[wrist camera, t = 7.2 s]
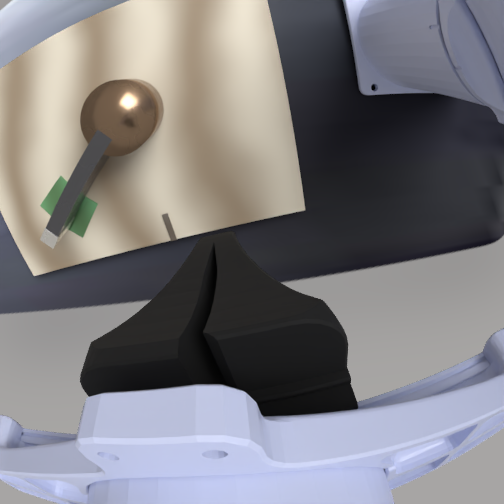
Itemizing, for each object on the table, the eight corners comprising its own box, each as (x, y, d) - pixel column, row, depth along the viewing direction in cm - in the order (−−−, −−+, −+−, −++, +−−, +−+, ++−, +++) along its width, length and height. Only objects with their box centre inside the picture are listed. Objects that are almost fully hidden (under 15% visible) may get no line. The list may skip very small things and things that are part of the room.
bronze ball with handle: (125, 66, 14) (108, 65, 12) (177, 103, 16) (170, 108, 13) (42, 208, 18) (23, 227, 16) (85, 238, 20) (71, 261, 17)
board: (257, -24, 13) (259, -31, 12) (301, 203, 22) (305, 210, 21) (-28, 96, 14) (-38, 99, 12) (39, 267, 22) (33, 276, 21)
